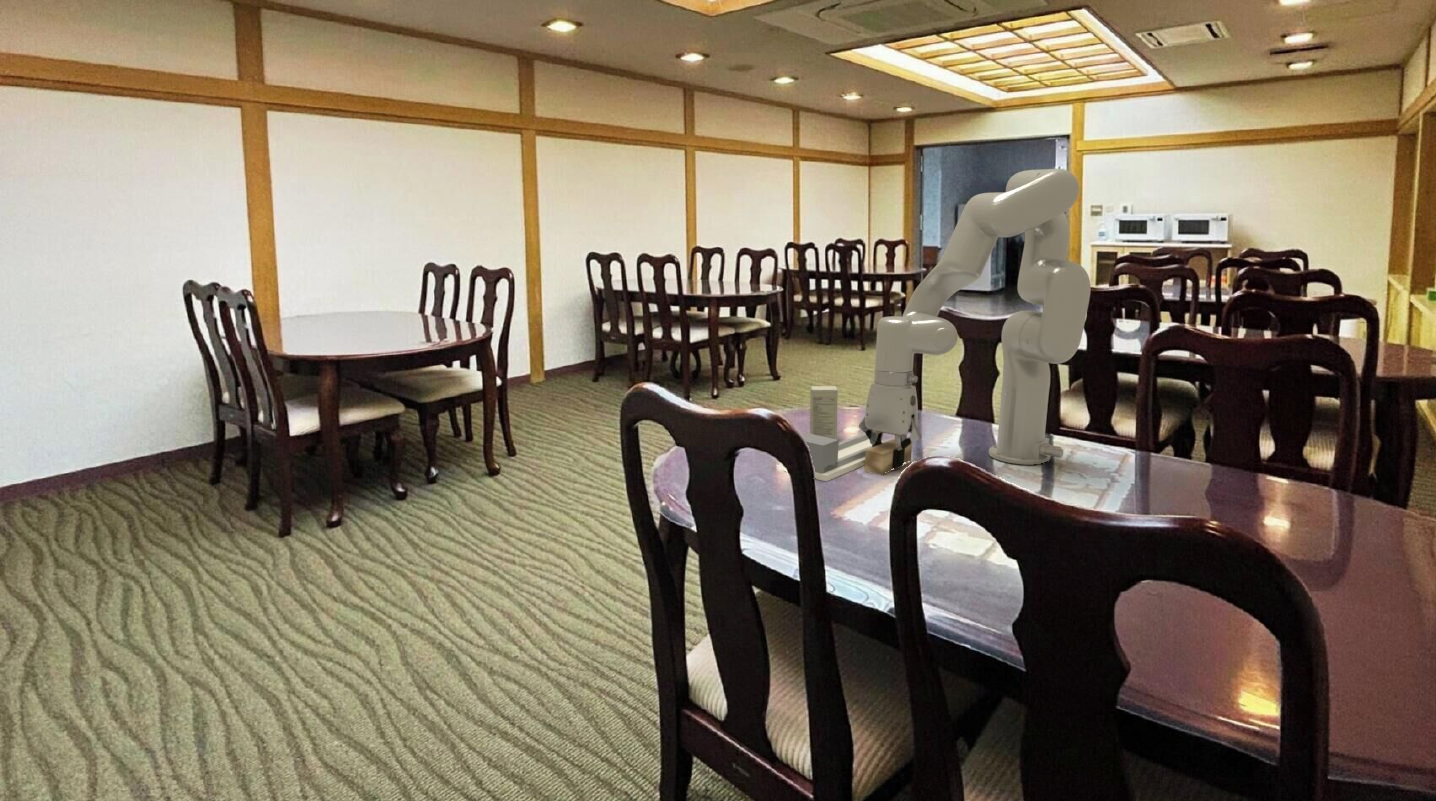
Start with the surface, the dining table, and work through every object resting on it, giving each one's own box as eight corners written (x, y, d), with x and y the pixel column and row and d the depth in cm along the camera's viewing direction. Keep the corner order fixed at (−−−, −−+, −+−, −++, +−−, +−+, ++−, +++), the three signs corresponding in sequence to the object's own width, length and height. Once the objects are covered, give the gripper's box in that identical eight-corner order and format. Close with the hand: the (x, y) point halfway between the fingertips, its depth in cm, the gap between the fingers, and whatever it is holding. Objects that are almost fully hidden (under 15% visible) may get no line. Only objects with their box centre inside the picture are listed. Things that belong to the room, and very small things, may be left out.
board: (900, 449, 190) (902, 419, 189) (826, 481, 168) (827, 447, 166) (861, 441, 196) (863, 411, 195) (784, 471, 174) (785, 438, 173)
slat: (910, 462, 181) (912, 441, 180) (881, 475, 172) (883, 453, 171) (893, 458, 184) (895, 438, 183) (864, 471, 175) (865, 450, 174)
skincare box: (836, 437, 200) (838, 385, 198) (837, 441, 196) (839, 389, 193) (808, 436, 201) (810, 385, 198) (808, 441, 197) (810, 388, 194)
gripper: (939, 381, 171) (932, 469, 175) (866, 370, 182) (861, 453, 186) (921, 386, 165) (915, 477, 169) (847, 374, 176) (843, 460, 180)
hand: (887, 463), depth 177 cm, fingers closed on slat, 4 cm apart
